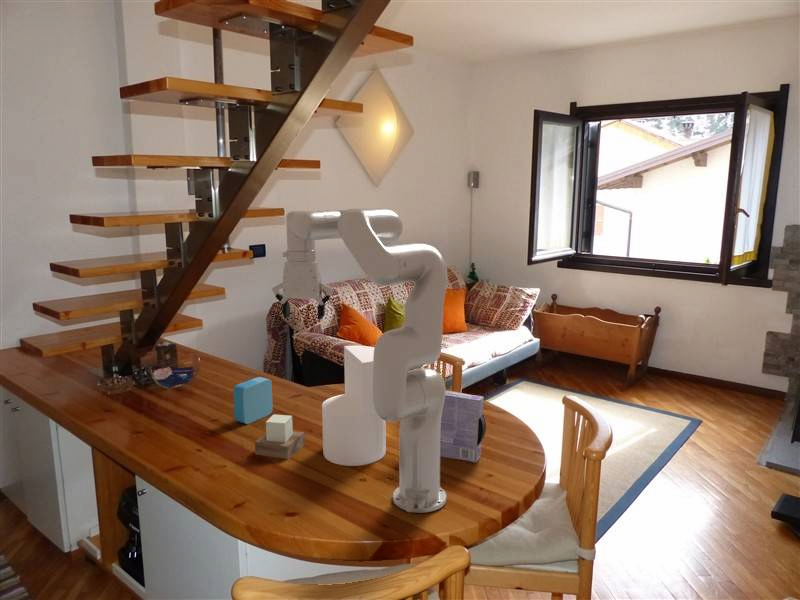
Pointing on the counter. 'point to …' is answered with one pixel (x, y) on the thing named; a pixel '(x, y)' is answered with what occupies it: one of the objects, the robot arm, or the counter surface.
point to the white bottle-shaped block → (354, 414)
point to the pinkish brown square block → (280, 446)
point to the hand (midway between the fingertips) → (303, 317)
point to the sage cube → (279, 428)
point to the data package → (253, 400)
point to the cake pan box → (462, 426)
